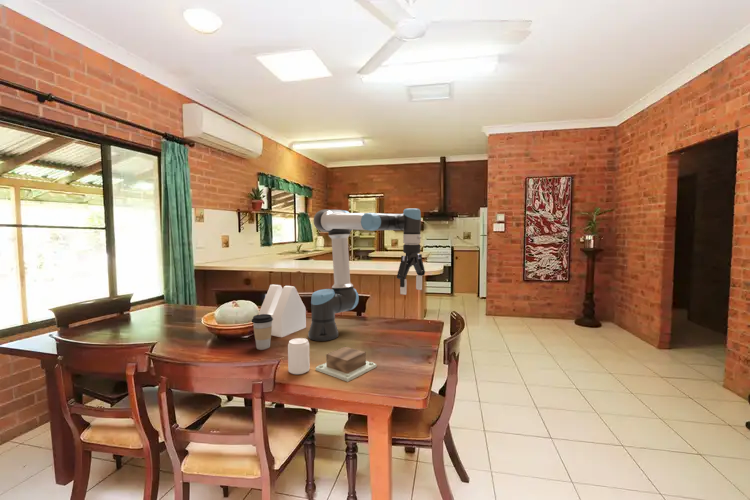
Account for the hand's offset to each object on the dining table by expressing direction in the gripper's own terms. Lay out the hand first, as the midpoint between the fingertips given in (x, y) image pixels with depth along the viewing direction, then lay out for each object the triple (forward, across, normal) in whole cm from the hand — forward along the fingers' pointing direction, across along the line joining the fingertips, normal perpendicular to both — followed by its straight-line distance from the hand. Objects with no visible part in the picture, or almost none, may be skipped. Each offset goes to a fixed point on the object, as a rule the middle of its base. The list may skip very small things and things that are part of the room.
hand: (411, 292), depth 154 cm
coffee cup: (+28, -36, +58) cm, 74 cm away
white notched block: (+28, -14, +72) cm, 78 cm away
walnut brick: (+26, -31, +11) cm, 42 cm away
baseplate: (+27, -31, +11) cm, 43 cm away
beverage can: (+28, -44, +24) cm, 57 cm away
